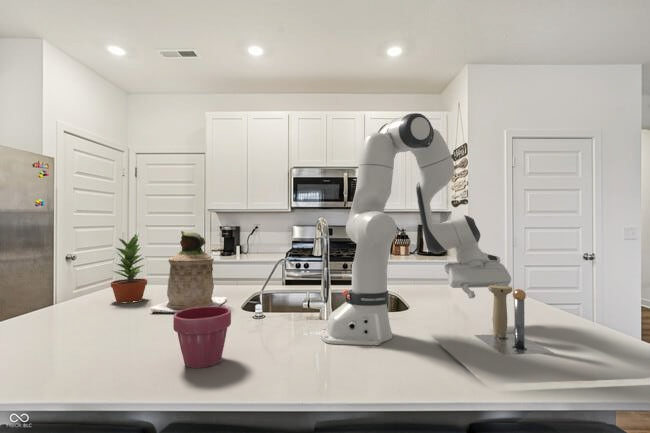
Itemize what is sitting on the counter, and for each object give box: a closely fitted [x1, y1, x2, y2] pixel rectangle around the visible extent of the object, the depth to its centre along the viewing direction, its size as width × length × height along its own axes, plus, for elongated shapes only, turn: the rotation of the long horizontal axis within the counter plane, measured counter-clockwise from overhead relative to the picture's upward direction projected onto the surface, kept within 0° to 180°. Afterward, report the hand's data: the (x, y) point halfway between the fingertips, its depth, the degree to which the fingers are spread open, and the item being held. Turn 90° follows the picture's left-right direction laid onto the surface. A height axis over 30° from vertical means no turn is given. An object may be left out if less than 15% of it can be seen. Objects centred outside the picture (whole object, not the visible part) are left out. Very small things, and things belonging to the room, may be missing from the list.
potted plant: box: [110, 233, 148, 303], centre depth 165 cm, size 15×15×30 cm
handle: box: [487, 285, 513, 338], centre depth 110 cm, size 5×6×15 cm
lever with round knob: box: [512, 288, 527, 350], centre depth 100 cm, size 3×3×16 cm
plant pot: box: [172, 305, 232, 369], centre depth 95 cm, size 14×14×13 cm
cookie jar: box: [149, 230, 228, 314], centre depth 154 cm, size 25×25×32 cm
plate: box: [473, 333, 555, 355], centre depth 104 cm, size 14×16×1 cm
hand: (486, 297), depth 118 cm, fingers open, 8 cm apart
